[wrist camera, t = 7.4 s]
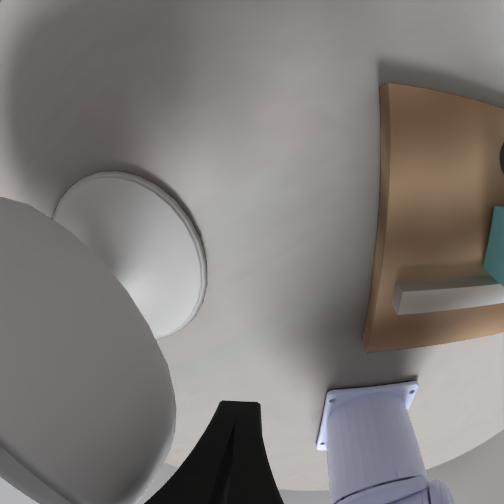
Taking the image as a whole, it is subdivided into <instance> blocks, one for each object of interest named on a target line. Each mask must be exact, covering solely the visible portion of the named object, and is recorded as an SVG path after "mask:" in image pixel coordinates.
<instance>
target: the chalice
mask: <svg viewBox="0 0 504 504" xmlns="http://www.w3.org/2000/svg"><path fill="white" fill-rule="evenodd" d="M206 287H207V261H206V258H205V254H204V250H203V246H202V242H201V239H200V237H199V235H198V234H197V232H196V230H195V228H194V226H193V224H192V222H191V220H190V218H189V217H188V216H187V215H186V213H185V212H184V211H183V209H182V208H181V207H180V206H179V204H178V203H177V202H176V201H175V200H174V199H173V198H172V197H171V196H169V195H168V194H167V193H166V192H165V191H163V190H162V189H161V188H160V187H159V186H157V185H155V184H153V183H151V182H150V181H148V180H146V179H144V178H142V177H140V176H138V175H133V174H129V173H125V172H120V171H106V172H97V173H95V174H92V175H89V176H86V177H84V178H82V179H80V180H79V181H78V182H76V183H75V184H74V185H72V186H71V187H70V188H69V189H68V190H67V191H66V193H65V194H64V195H63V197H62V198H61V199H60V201H59V203H58V205H57V207H56V210H55V212H54V215H53V218H52V219H51V218H49V217H48V216H46V215H45V214H43V213H41V212H40V211H38V210H37V209H35V208H33V207H32V206H30V205H28V204H25V203H21V202H18V201H14V200H11V199H7V198H4V197H0V476H1V477H2V478H3V479H4V480H6V481H7V482H8V483H10V484H11V485H12V486H14V487H15V488H17V489H18V490H19V491H21V492H22V493H24V494H25V495H27V496H29V497H30V498H31V499H33V500H35V501H36V502H38V503H40V504H136V503H137V502H138V501H139V500H140V498H141V497H142V496H143V494H144V493H145V492H146V490H147V489H148V487H149V486H150V484H151V483H152V481H153V480H154V478H155V476H156V475H157V473H158V471H159V470H160V468H161V466H162V464H163V463H164V461H165V459H166V457H167V455H168V453H169V451H170V449H171V445H172V441H173V437H174V433H175V424H176V402H175V394H174V389H173V385H172V381H171V377H170V373H169V368H168V365H167V363H166V360H165V358H164V356H163V354H162V352H161V350H160V348H159V346H158V344H157V342H156V340H155V339H159V338H163V337H167V336H171V335H172V334H174V333H176V332H178V331H180V330H181V329H183V328H185V327H186V325H187V324H188V323H189V322H190V321H191V320H192V319H193V318H194V317H195V316H196V314H197V312H198V311H199V309H200V307H201V305H202V303H203V301H204V296H205V292H206Z"/></svg>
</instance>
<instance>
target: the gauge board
mask: <svg viewBox="0 0 504 504" xmlns="http://www.w3.org/2000/svg"><path fill="white" fill-rule="evenodd" d="M379 95H380V119H381V174H380V198H379V214H378V228H377V239H376V249H375V258H374V267H373V275H372V282H371V289H370V296H369V303H368V309H367V315H366V321H365V326H364V332H363V337H362V340H363V343H364V346H365V349H366V352H367V353H369V352H380V351H390V350H400V349H408V348H416V347H424V346H431V345H438V344H444V343H450V342H456V341H462V340H468V339H473V338H478V337H483V336H488V335H493V334H497V333H502V332H504V287H503V286H502V285H501V284H500V283H499V282H498V281H497V280H496V279H495V278H493V277H492V276H491V275H490V274H489V273H488V272H487V271H485V270H484V269H483V264H484V260H485V256H486V251H487V246H488V241H489V236H490V231H491V225H492V219H493V212H494V206H499V207H504V109H503V108H500V107H497V106H494V105H491V104H487V103H484V102H481V101H477V100H473V99H470V98H466V97H462V96H458V95H454V94H449V93H445V92H440V91H435V90H430V89H425V88H420V87H414V86H408V85H401V84H394V83H386V84H384V85H381V86H379Z"/></svg>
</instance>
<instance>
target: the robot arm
mask: <svg viewBox="0 0 504 504" xmlns="http://www.w3.org/2000/svg"><path fill="white" fill-rule="evenodd" d="M418 387H419V385H418V382H417V381H411V382H405V383H398V384H390V385H383V386H374V387H364V388H353V389H341V390H331V391H329V392H328V393H327V396H326V401H325V406H324V412H323V417H322V422H321V427H320V431H319V436H318V441H317V445H316V449H317V450H327V462H328V476H329V493H330V498H331V500H332V502H333V504H455V503H454V500H453V497H452V494H451V492H450V489H449V486H448V484H447V483H446V482H444V481H440V480H439V479H435V480H433V481H431V482H430V481H429V480H428V478H427V475H426V471H425V467H424V463H423V460H422V456H421V453H420V449H419V446H418V443H417V439H416V436H415V433H414V430H413V427H412V424H411V421H410V417H409V414H408V409H409V406H410V404H411V402H412V400H413V398H414V396H415V393H416V391H417V389H418ZM144 504H284V503H283V501H282V498H281V496H280V494H279V491H278V489H277V486H276V483H275V481H274V478H273V475H272V472H271V469H270V465H269V462H268V459H267V455H266V451H265V447H264V442H263V437H262V424H261V407H260V404H259V403H258V402H240V401H221V402H220V403H219V405H218V408H217V410H216V412H215V414H214V416H213V418H212V420H211V421H210V423H209V425H208V427H207V428H206V430H205V432H204V434H203V435H202V437H201V438H200V440H199V441H198V443H197V444H196V446H195V447H194V449H193V450H192V452H191V453H190V454H189V456H188V457H187V458H186V460H185V461H184V462H183V464H182V465H181V466H180V468H179V469H178V470H177V471H176V472H175V474H174V475H173V476H172V477H171V478H170V479H169V480H168V481H167V483H165V485H164V486H163V487H162V488H161V489H160V490H159V491H157V492H156V493H155V494H154V495H153V496H152V497H151V498H150V499H149V500H148V501H147V502H145V503H144Z"/></svg>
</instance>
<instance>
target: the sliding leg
mask: <svg viewBox="0 0 504 504" xmlns="http://www.w3.org/2000/svg"><path fill="white" fill-rule="evenodd" d="M483 269H484V270H485V271H487V272H488V273H489V274H490V275H491V276H492V277H493V278H495V279H496V280H497V281H498V282H499V283H500V284H501V285H502V286H503V287H504V207H499V206H494V212H493V219H492V225H491V231H490V236H489V241H488V246H487V251H486V256H485V260H484V264H483Z"/></svg>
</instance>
